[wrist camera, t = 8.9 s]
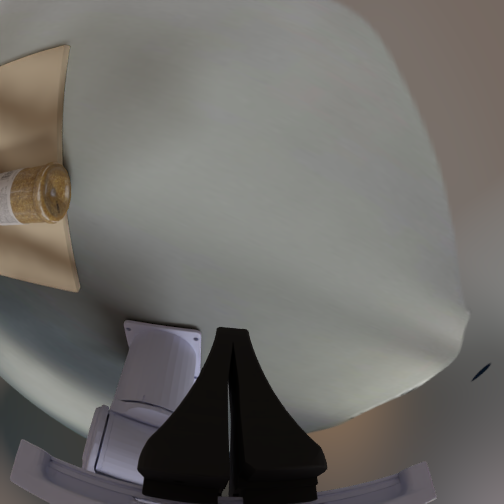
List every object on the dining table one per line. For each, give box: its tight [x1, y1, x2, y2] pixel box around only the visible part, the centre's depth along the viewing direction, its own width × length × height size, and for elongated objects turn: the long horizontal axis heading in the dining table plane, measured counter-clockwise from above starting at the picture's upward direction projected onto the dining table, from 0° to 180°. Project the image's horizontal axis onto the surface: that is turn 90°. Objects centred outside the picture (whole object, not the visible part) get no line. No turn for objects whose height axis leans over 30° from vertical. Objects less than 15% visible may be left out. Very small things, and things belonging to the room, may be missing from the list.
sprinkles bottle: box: [0, 162, 71, 226], centre depth 15 cm, size 5×5×14 cm
